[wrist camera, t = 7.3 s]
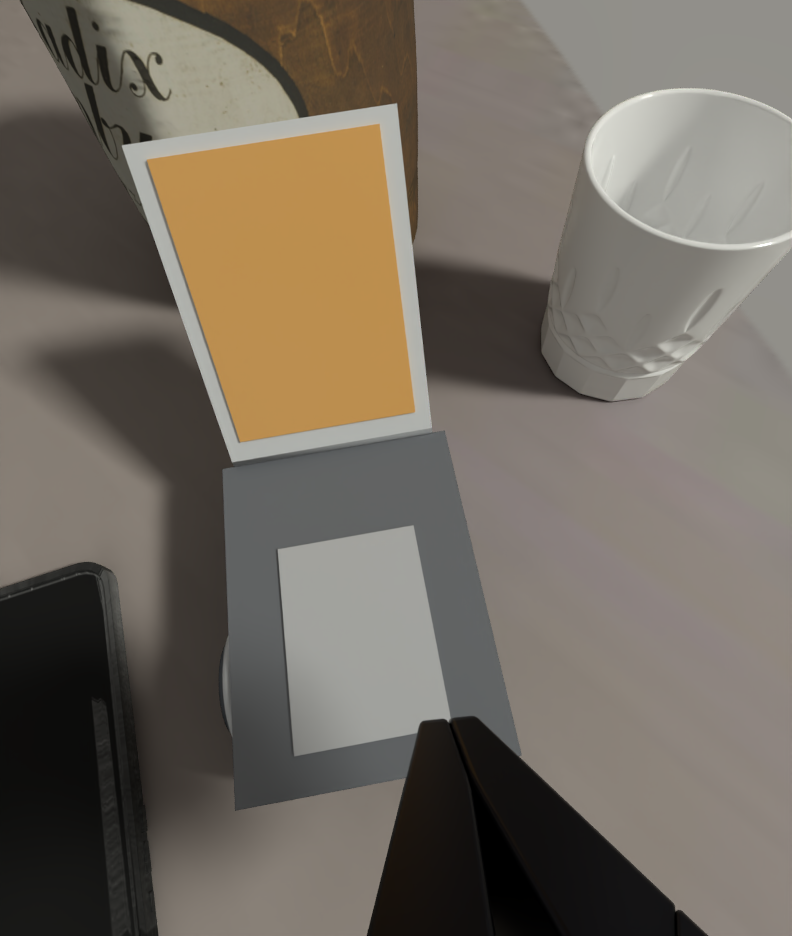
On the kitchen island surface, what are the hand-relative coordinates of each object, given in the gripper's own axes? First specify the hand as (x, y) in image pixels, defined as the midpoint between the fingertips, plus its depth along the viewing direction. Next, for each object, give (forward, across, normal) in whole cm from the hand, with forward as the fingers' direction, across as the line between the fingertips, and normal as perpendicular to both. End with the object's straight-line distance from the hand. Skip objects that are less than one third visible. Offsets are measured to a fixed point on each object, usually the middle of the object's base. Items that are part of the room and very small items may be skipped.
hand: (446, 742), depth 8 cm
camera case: (+13, +1, +5) cm, 14 cm away
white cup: (+20, -12, -5) cm, 24 cm away
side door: (+11, +2, -7) cm, 13 cm away
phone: (+12, +14, +10) cm, 21 cm away
